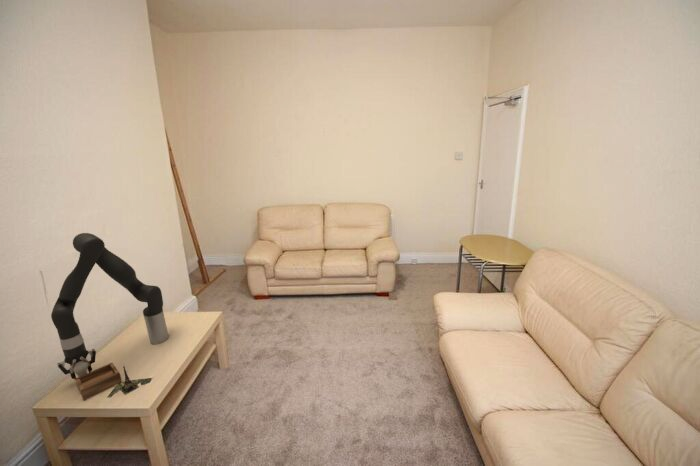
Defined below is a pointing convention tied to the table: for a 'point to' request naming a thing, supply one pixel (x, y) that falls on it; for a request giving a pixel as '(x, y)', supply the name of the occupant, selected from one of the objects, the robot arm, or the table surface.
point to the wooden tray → (98, 380)
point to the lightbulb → (80, 368)
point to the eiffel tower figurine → (128, 385)
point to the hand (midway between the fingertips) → (82, 375)
